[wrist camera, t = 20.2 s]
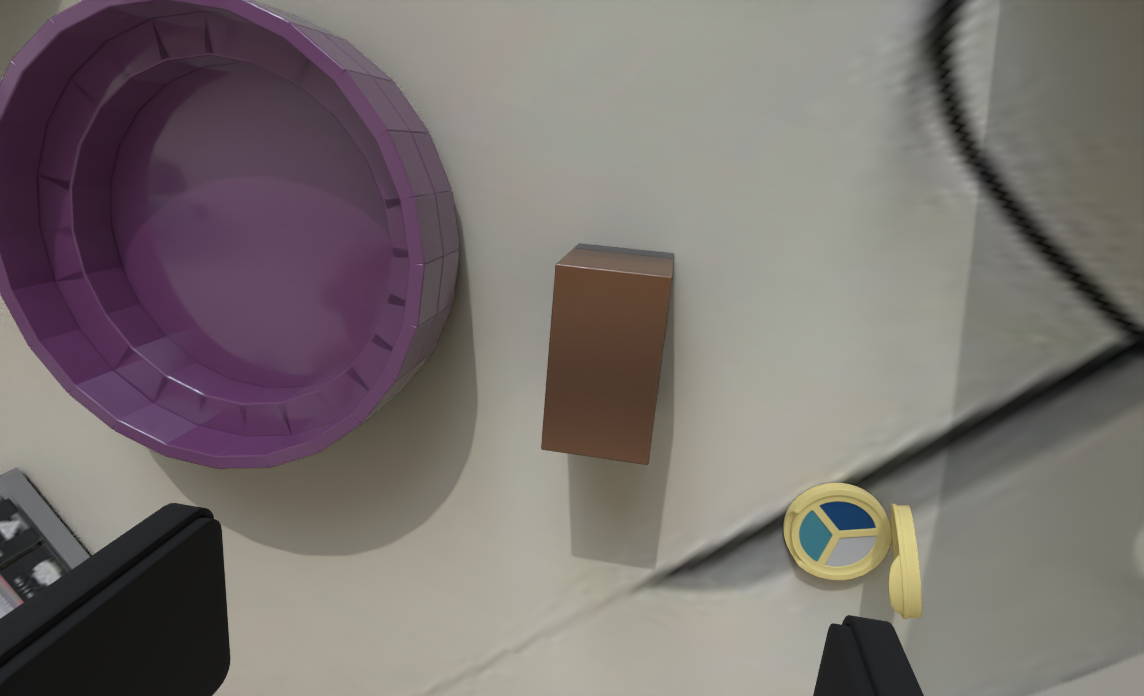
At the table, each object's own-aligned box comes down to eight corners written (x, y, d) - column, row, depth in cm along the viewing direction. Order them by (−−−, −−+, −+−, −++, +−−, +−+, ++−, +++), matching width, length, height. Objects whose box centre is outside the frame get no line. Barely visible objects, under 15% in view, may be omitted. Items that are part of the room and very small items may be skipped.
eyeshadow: (778, 487, 31) (795, 548, 26) (899, 477, 30) (940, 538, 25) (788, 574, 32) (806, 648, 27) (905, 567, 31) (945, 643, 26)
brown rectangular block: (578, 243, 29) (555, 263, 24) (674, 253, 29) (672, 276, 23) (564, 399, 31) (540, 450, 26) (654, 411, 31) (648, 465, 25)
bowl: (281, -91, 27) (196, -142, 23) (546, 290, 30) (520, 317, 25) (9, 180, 32) (-106, 185, 28) (256, 487, 35) (189, 540, 30)
